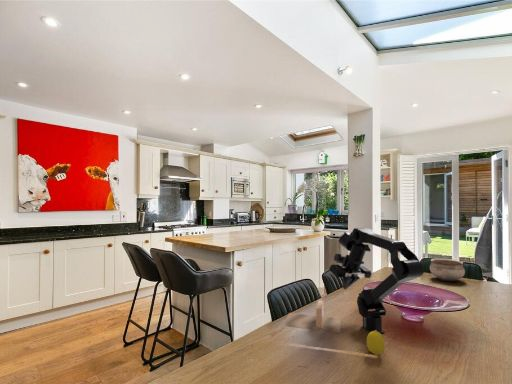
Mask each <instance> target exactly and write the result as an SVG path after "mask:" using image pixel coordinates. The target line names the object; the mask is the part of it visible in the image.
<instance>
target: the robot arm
mask: <svg viewBox="0 0 512 384" xmlns="http://www.w3.org/2000/svg"><path fill="white" fill-rule="evenodd" d="M338 243H339V245H341V247H343V248H344V249H346V250H347V251H349V254H346V255H342V254H341V253H335V255H334V256H333V260H334V261H335V262H336V264H333V263H332V264H331V265H330V266H329V272H331V273H332V274H333V275H334V276H335V277H337V278H342V288H343V290H347V289H348V288H349V287H351V286H352V285H353V284H354V283H355V282H357V281H359V280H360V279H361V277H360V276H359V274H360V275H363V276H364V278H365V279H371V277H372V271H371V270H370V269H369V268H367V267H366V266H364V264H365V261H364V257H365V255H366V253H367V252H368V253H369V252H371V248H370V246H369V244H370V245H373V246H375V247H378V248H381V249H383V250H386V251H388V252H389V254H390V263H391V266H392V268H391V274H389V275H388V276H387V277H386V278H385V279H384V280H382V281H381V282H380V283H378V285H377V286H376V287H374V288H365V289H362V291H361V292H359V293H358V296H357V299H356V304H357V309H358V313H359V315H360V316H361V317H362V327H363V328H364V330H365V331H367V332H369V333H370V332H372V331H374V330H376V331H377V332H379V333H380V334H381V335H382V334H384V333H386V331H385V330H383V329H382V328H383V327H382V325H383V324H382V323H383V322H382V316H386V315H387V314H386V313H387V309H386V308H385V306H384V304H383V302H384V299H385V298H386V297H387V296H388V295H390V294H392V292H394V291H395V290H397V289H398V288H399V287H400V286H402V285H403V284H404V283H406V282H410V281H414V280H416V279H418V278H421V277H422V276H423V275H424V267H423V264H422V263H421V261H420V260H419V258H418V257H417V255H416V254H415V252H413V251H411V250H410V249H409V248H408V246H407V245H406V243H405V241H403V240H397V239H394V238H390V237H388V236H384V235H381V234H378V233H375V231H374V230H372V228H371V229H370V228H369V227H355V228H353V229H352V231H351V232H349V231H344V232H343V234H342V235H341V236H340V237H339V238H338ZM399 254H400V255H402V257H404V258H405V260H400V258H399ZM340 264H341V265H340Z"/></svg>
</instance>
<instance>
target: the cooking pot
mask: <svg viewBox="0 0 512 384" xmlns="http://www.w3.org/2000/svg"><path fill="white" fill-rule="evenodd" d="M430 261H431V262H430V265H429V270H430V273H431V274H432V275H433V276H434V277H436V278H437V279H439V280H440V281H442V282H448V283H452V282H455V281H458V280H460V279H462V278H464V276H465V273H466V270H465V267H464V265H463V264H464V262H463V261H461V260H457V259H449V258H432V259H430Z"/></svg>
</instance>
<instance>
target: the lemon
mask: <svg viewBox="0 0 512 384" xmlns="http://www.w3.org/2000/svg"><path fill="white" fill-rule="evenodd" d="M385 343H386V342H385V339H384V337H383V334H382V333H381V334H380V333H379V332H377V331H376V330H374V331H372V332H369V333H368V334H367V336H366V346H367V349H368V351H369V352H370V353H372V354H373V355H374V356H375V357H377V356H379V355H381V354H383V352H384V350H385V348H386V344H385Z"/></svg>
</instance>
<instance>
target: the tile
mask: <svg viewBox="0 0 512 384" xmlns="http://www.w3.org/2000/svg"><path fill="white" fill-rule="evenodd" d="M324 311H325V310H324V300H322V299H319V300H317V305H316V309H315V316H316V326H317V328H322V324H323V319H324V317H325V316H324V313H325V312H324Z"/></svg>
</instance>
